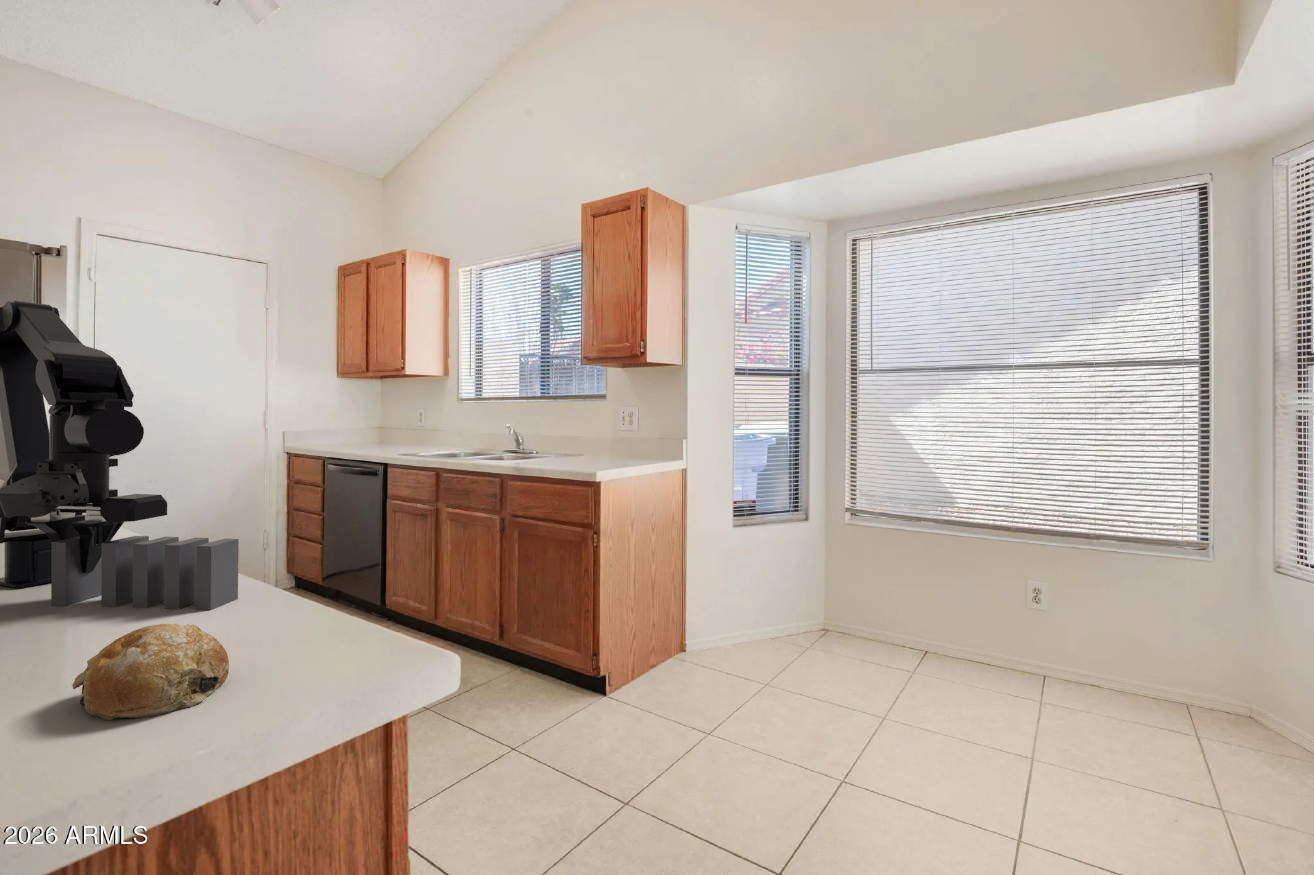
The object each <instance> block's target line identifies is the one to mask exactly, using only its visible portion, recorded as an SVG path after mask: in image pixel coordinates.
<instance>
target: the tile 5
mask: <svg viewBox="0 0 1314 875" xmlns="http://www.w3.org/2000/svg"><path fill="white" fill-rule="evenodd" d="M239 540H240V539H239V538H227V537H226V538H222V539H218V540H213V541H209V543H206V544H202V545H199V546H197V595H196V603H195V605H196V607H195V608H196V609H195V610H196V611H213V610H215V609H217V608H220V607H222V606H224V605H227V604H229V603H231V602H234V601H237V600H239Z"/></svg>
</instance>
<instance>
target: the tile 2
mask: <svg viewBox="0 0 1314 875" xmlns="http://www.w3.org/2000/svg"><path fill="white" fill-rule="evenodd" d="M148 540H150V536H149V535H133V536H128V537H124V538H118V539H113V540H111V541H109V542H104V543H102V566H101V596H100V597H101V599H100V600H101V601H100V602H101V606H100V607H101V608H118V607H120V606H123V605H126V604H129V603H133V544H135V543H140V542H144V541H148Z"/></svg>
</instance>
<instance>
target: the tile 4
mask: <svg viewBox="0 0 1314 875" xmlns="http://www.w3.org/2000/svg"><path fill="white" fill-rule="evenodd" d="M206 543H210V541H209V537H192V538H188V539H184V540H179V542H175V543H171V544H167V545H165V602H164V610H181V609H184V608H185V607H188V606H192V605H194V604H196V595H197V546H199V545H202V544H206Z"/></svg>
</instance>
